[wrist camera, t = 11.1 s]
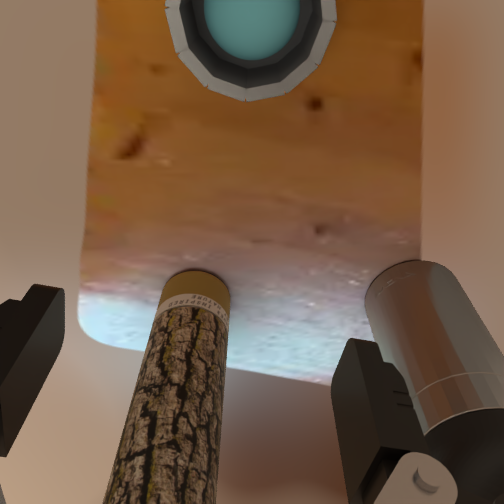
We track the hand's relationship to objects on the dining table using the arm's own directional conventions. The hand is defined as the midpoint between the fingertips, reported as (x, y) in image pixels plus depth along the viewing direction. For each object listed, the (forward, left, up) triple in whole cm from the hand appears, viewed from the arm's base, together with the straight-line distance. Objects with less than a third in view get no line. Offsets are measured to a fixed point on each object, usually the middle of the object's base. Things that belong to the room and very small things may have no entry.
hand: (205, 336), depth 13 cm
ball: (+4, -5, -23) cm, 24 cm away
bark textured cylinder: (-12, +16, -28) cm, 34 cm away
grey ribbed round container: (+4, -5, -28) cm, 28 cm away
